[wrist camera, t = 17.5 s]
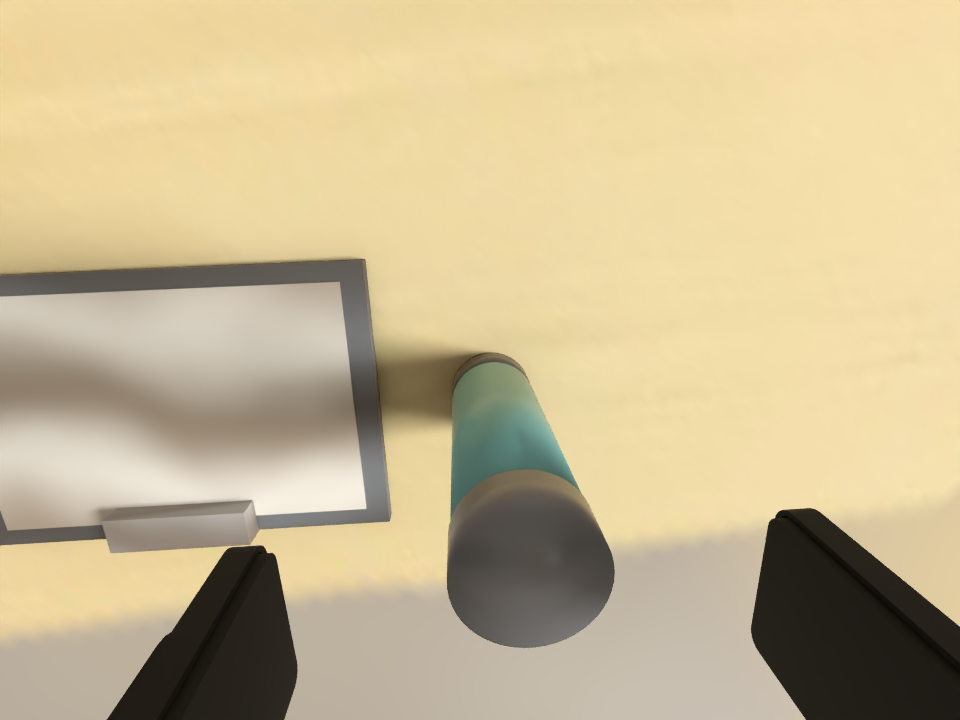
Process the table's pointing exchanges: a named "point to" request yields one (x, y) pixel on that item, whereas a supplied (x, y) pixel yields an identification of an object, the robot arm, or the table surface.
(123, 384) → the clipboard
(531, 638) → the marker
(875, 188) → the table surface
